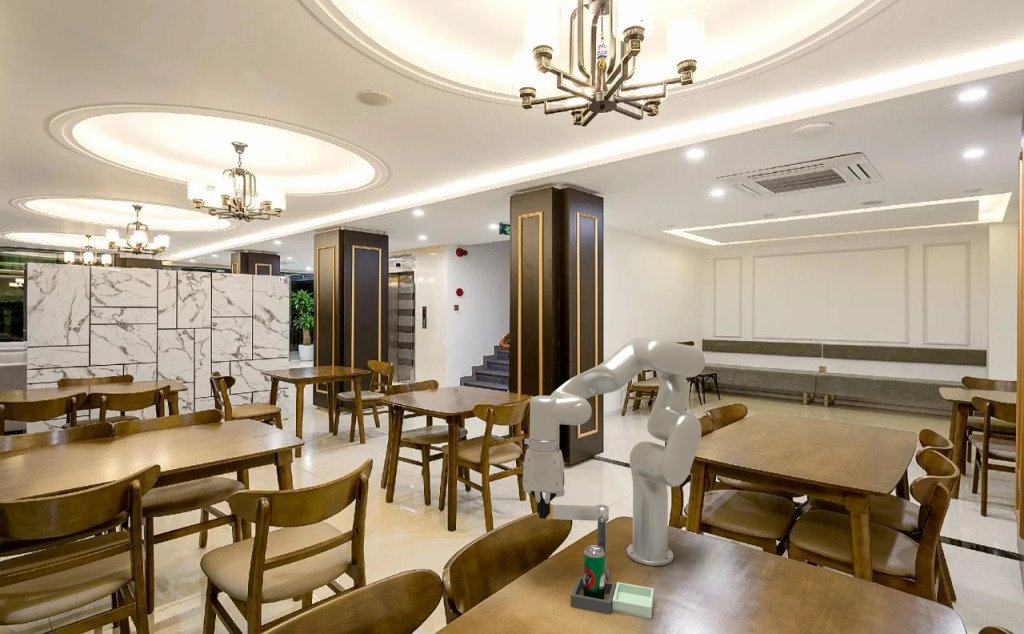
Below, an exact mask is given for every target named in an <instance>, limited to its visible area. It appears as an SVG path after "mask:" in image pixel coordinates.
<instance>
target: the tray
mask: <svg viewBox="0 0 1024 634" xmlns="http://www.w3.org/2000/svg"><path fill="white" fill-rule="evenodd" d="M654 593H655V592H654V587H647V586H642V585H636V584H630V583H625V582H619V581H617V582H616V589H615V593H614V596H613V603H612V611H611V612H614V613H618V614H625V615H630V616H634V617H639V618H644V619H649V620H651V619H652V617H653V610H654V609H653V608H654V607H653V606H654V598H655V597H654Z"/></svg>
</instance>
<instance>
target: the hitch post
mask: <svg viewBox="0 0 1024 634" xmlns="http://www.w3.org/2000/svg"><path fill="white" fill-rule="evenodd" d="M607 523H608V521H607V522H600V521H597V546H600V547H602V548H603V549H604V553H605V581H606V582H608V580H609V577H610V573H611V570H610V569H607V540H608V537H607V533H608V532H607Z"/></svg>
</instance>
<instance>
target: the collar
mask: <svg viewBox="0 0 1024 634" xmlns="http://www.w3.org/2000/svg"><path fill="white" fill-rule="evenodd" d="M616 585H617V582H612V581H611V582H610V581H605V595H609V596H608V598H607V599H605V600H602V599H597V598H592V597H586V596H583V595H581V591H582V590H583V576H578V578H577V579H576V583H575V585H574V587H573V590H572V592H571V594H570V607H571V608H572V607H573V608H577V609H581V610H587V611H593V612H597V613H603V614H608V615H611V614H612V612H613V611H612V603H613V596H614V593H615V589H616Z"/></svg>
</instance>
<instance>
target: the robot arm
mask: <svg viewBox="0 0 1024 634" xmlns="http://www.w3.org/2000/svg"><path fill="white" fill-rule="evenodd" d="M705 365H706V357H705V355H704V353H703V352H702V350H700V349H699V348H698V347H696V346H693V345H688V344H684V343H683V344H682V343H677V342H672V341H670V340H669V341H668V340H663V339H659V338H642V337H639V338H633V339H631V340H629V341H628V342H627V343H626V344H624V345H623V346H621V347H620V348H618V350H616V352H614V353H613V354H611V355H610V356H609V357H608V358H606V359H605V360H604V361H602V362H601V363H600V364H599V365H596V366H595V367H592V368H590V369H588V370H586V371H584V372H581V373H578V374H577V375H575V376H573V377H571V378H569V379H568V380H566V381H565V382H564V383H563V384H561V385H560V386H559V387H558V388H556V389H555V390H553V392H552V393H551V394H550V395H536V396H532V398H531V400H530V403H529V438H524V442H523V443H524V444H525V445H528V448H527V449H526V451H525V456H524V461H523V471H522V472H523V473H522V486H523V492H525V493H528V494H529V495H532V497H533V498H534V499H535V502H537V506H536V507H537V509H536V513H537V514H538V519H542V520H547V519H546V518H547V516H548V515H549V514H550V504H551V501H552V500H554V499H555V498H561V497H564V496H565V494H566V492H565V481H566V479H565V465H564V457H563V453H562V451H563V450H561V449H560V425H569V426H581V425H583V424H585V423H587V422H588V421H589V420H590V419H591V416H592V411H593V410H592V406H591V404H590V403H589V401H588V400H587V399H589V398H591V397H594V396H598V395H605V394H610V393H614V392H616V391H619V390H622V388H624V387H625V386H626V385H627V384H628V383H630V382H631V381H632V380H633V379H635V377H636V376H638V375H639V374H640V373H642V372H643V371H645V370H649V371H654V372H656V375H657V378H658V382H659V383H658V384H659V387H658V391H657V394H656V397H655V400H654V402H653V406H652V409H651V412H650V414H649V416H648V420H647V424H646V427H647V432H648V434H649V435H650V436H651V437H653V438H655V439H656V440H659V441H663V442H665V443H666V445H665V446H664V445H662V444H659V443H655V442H653V441H647V440H646V441H640V442H638V443H636V444H635V445H634V446H633V447H632V449H631V450H630V453H629V466H630V471H631V472H630V473H631V479H632V543H631V544H629V545H628V546H627V547H626V554H627V556H628V557H629V558H630V559H631V560H632V561H635V562H637V563H639V564H641V565H646V566H652V567H653V566H654V567H655V566H656V567H657V566H658V567H659V566H660V567H661V566H666V565H669V564H671V563H672V562H673V560H674V553H673V552H672V550H671V549H669V547H668V543H669V541H668V538H669V537H668V536H669V535H668V532H669V531H668V530H669V529H668V528H669V527H668V524H669V522H668V521H669V519H668V517H669V512H668V511H669V505H668V504H669V495H668V494H669V492H668V487H670V488H671V487H672V488H675V487H678V486H681V485H682V484H683V483H684V482H685V481H686V480H687V478H688V476H689V474H690V470H691V469H692V466H693V463H694V460H695V457H696V455H697V452H698V449H699V445H700V442H701V439H702V424H701V421H700V420H699V418H698V417H697V416H696V415H694V414H693V413H691V412H688V411H686V409H687V405H688V401H689V399H690V387H689V383H688V381H687V378H693V377H696V376H698V375H700V374H701V373H702V372H703V371H704V368H705ZM544 493H545V496H544V495H543V494H544Z"/></svg>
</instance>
